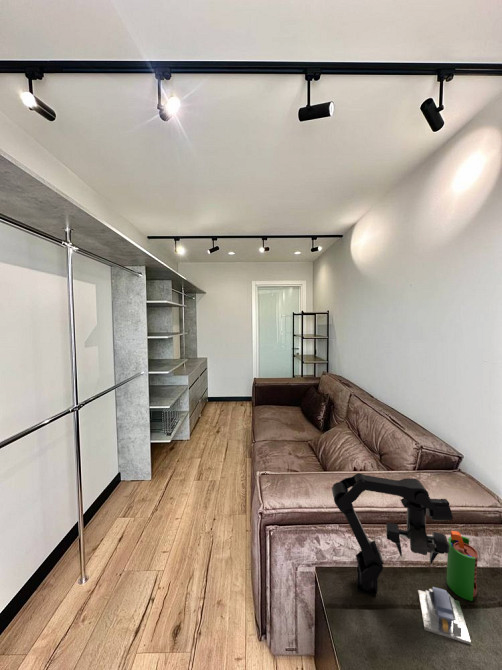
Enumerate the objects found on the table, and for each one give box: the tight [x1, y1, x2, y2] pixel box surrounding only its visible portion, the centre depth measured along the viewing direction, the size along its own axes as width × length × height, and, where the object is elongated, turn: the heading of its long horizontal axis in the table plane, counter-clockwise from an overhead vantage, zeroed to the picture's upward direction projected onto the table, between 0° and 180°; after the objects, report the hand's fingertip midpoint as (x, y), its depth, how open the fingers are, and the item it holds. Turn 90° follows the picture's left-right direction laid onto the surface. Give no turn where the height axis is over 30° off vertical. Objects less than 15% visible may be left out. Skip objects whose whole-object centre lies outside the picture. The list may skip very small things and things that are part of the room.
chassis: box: [417, 588, 472, 645], centre depth 97 cm, size 12×13×4 cm
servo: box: [432, 586, 454, 629], centre depth 97 cm, size 4×10×5 cm, turn 158°
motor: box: [446, 530, 479, 601], centre depth 106 cm, size 10×9×20 cm
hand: (415, 559), depth 105 cm, fingers open, 9 cm apart
